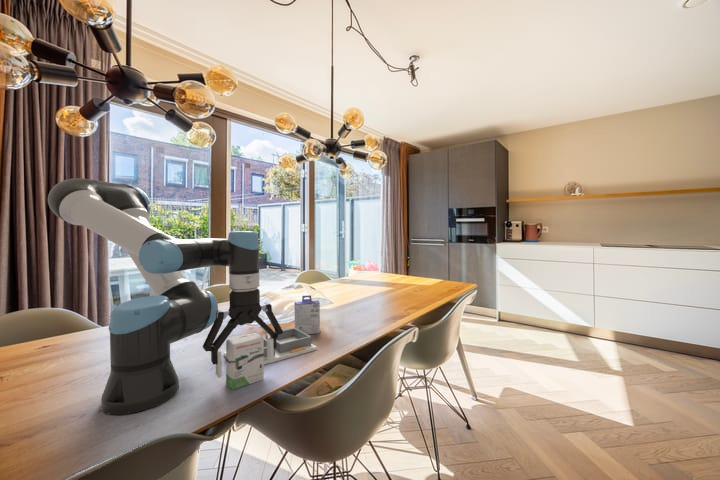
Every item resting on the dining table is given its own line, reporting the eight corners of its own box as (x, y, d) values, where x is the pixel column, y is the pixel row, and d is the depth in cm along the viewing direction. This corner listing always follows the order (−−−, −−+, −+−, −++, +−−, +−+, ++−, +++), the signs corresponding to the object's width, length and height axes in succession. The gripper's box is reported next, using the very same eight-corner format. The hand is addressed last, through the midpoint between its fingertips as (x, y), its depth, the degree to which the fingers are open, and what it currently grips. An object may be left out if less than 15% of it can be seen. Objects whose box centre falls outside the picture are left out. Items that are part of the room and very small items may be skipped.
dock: (237, 372, 85) (237, 358, 85) (223, 355, 97) (223, 342, 97) (316, 349, 101) (316, 337, 101) (296, 337, 113) (296, 326, 113)
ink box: (232, 390, 75) (232, 344, 75) (225, 383, 79) (225, 339, 79) (264, 379, 81) (264, 336, 81) (256, 372, 85) (256, 331, 85)
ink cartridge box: (318, 329, 123) (318, 294, 122) (320, 333, 118) (320, 297, 117) (294, 331, 120) (294, 295, 120) (295, 335, 115) (294, 298, 114)
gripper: (194, 297, 69) (196, 388, 69) (294, 285, 84) (294, 359, 85) (188, 292, 74) (190, 376, 75) (282, 282, 90) (283, 351, 91)
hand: (246, 367), depth 80 cm, fingers open, 13 cm apart
